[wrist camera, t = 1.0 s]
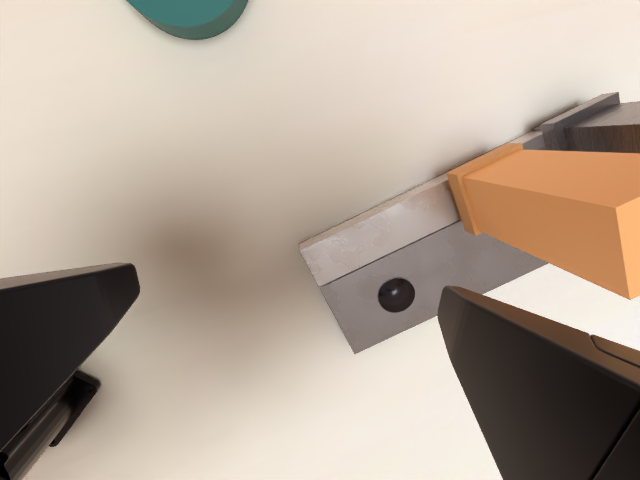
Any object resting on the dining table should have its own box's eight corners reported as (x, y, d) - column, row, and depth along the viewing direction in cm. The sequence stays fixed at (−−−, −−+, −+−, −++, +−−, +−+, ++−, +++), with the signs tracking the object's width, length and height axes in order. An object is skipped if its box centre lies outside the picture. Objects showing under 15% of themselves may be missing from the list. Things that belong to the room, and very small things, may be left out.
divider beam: (320, 284, 23) (357, 431, 11) (294, 236, 21) (307, 345, 10) (603, 149, 22) (952, 157, 10) (594, 90, 21) (979, 27, 9)
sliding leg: (463, 229, 21) (623, 308, 11) (444, 172, 19) (606, 203, 10) (520, 202, 20) (735, 257, 11) (505, 143, 19) (732, 144, 9)
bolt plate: (351, 345, 24) (355, 355, 23) (318, 281, 22) (320, 289, 21) (614, 222, 24) (631, 226, 22) (602, 145, 22) (619, 145, 21)
